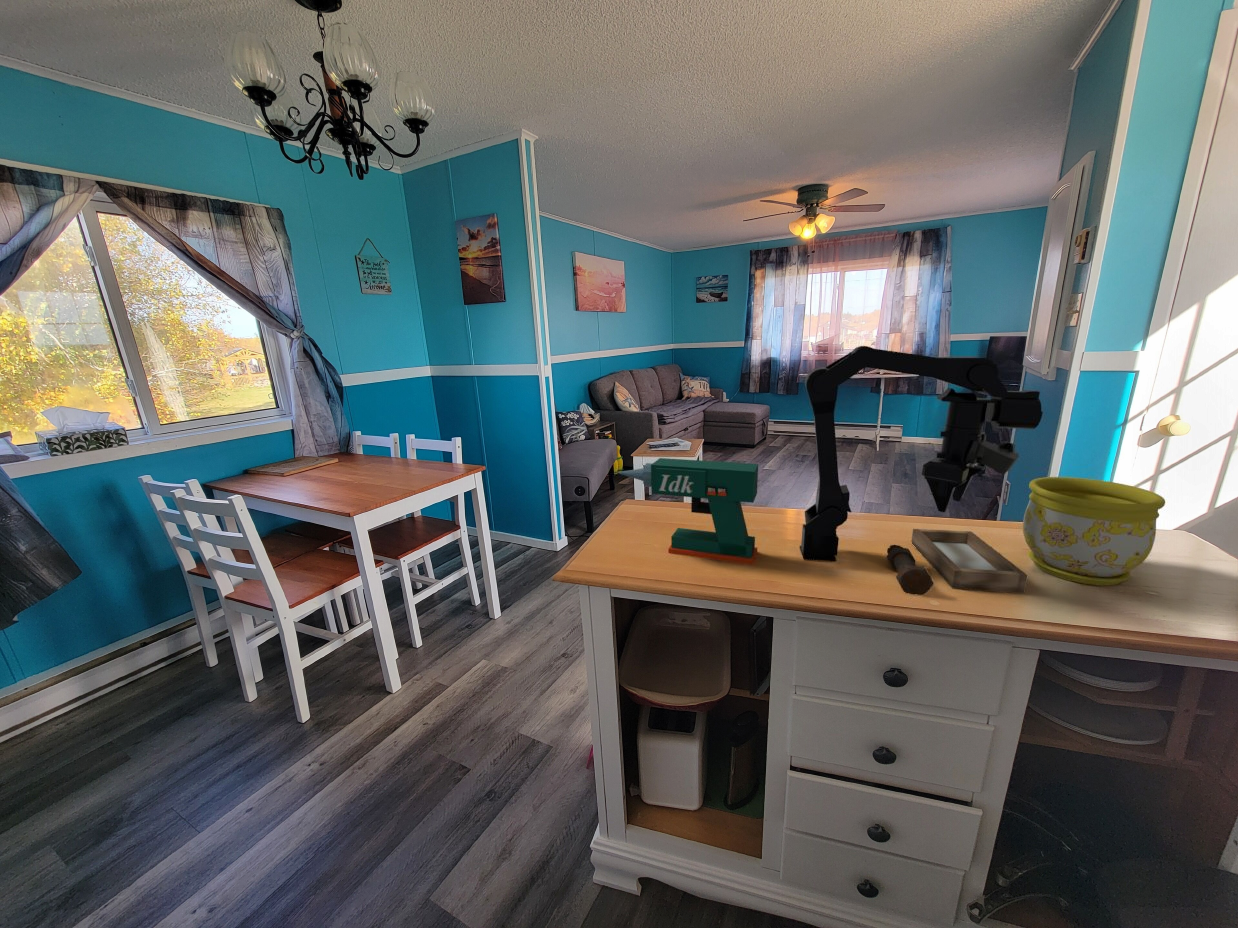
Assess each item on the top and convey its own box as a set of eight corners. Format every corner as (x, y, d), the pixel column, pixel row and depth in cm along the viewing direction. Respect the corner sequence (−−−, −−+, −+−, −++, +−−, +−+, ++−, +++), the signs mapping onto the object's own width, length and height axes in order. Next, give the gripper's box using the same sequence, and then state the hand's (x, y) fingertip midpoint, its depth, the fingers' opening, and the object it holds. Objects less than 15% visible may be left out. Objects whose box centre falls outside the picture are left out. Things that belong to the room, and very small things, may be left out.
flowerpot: (1122, 561, 95) (1141, 482, 91) (1162, 603, 80) (1187, 511, 76) (1008, 544, 104) (1021, 472, 100) (1024, 579, 89) (1041, 496, 85)
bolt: (897, 568, 100) (918, 602, 86) (875, 554, 101) (892, 586, 87) (915, 546, 98) (940, 577, 84) (893, 533, 99) (913, 562, 85)
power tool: (611, 546, 110) (608, 462, 106) (622, 535, 117) (620, 455, 112) (753, 565, 99) (757, 472, 94) (757, 552, 105) (760, 464, 100)
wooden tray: (952, 588, 87) (954, 570, 86) (911, 543, 107) (913, 528, 106) (1024, 593, 85) (1027, 575, 84) (968, 546, 104) (971, 531, 103)
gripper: (1006, 439, 76) (987, 530, 80) (1030, 425, 88) (1013, 505, 92) (927, 430, 84) (914, 513, 88) (959, 418, 96) (946, 492, 100)
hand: (949, 506), depth 92 cm, fingers open, 9 cm apart
